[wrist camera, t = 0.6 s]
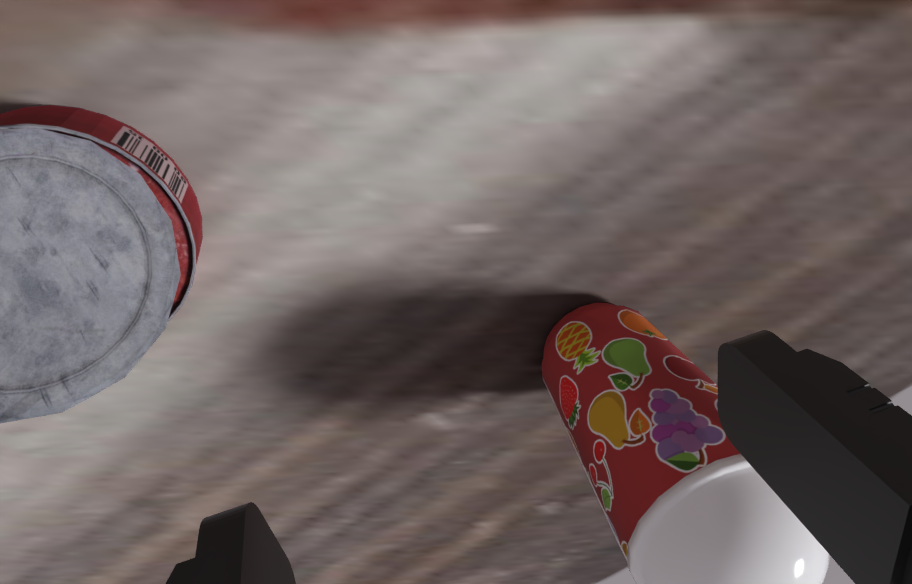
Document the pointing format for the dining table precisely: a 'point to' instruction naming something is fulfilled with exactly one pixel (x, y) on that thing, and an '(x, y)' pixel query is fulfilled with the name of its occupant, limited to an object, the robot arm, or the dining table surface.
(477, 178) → the dining table surface
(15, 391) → the canned food
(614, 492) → the smoothie
